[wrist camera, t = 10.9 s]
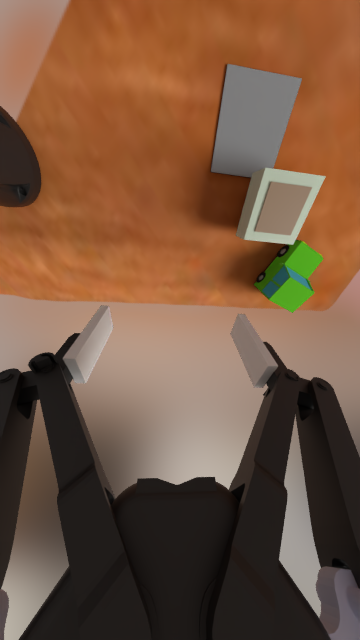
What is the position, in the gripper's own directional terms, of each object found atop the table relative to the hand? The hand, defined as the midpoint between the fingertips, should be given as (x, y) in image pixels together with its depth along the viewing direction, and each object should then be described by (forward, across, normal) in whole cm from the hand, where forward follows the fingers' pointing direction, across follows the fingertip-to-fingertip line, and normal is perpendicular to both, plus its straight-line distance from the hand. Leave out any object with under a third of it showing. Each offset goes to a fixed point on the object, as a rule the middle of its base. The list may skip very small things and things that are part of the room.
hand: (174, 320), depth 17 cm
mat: (+29, +12, +22) cm, 38 cm away
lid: (+25, +18, +11) cm, 32 cm away
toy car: (+29, +29, -2) cm, 41 cm away
